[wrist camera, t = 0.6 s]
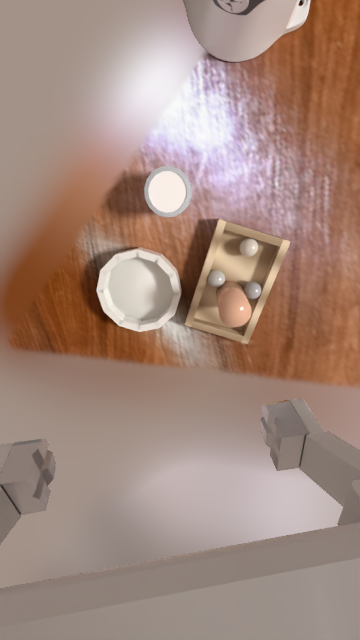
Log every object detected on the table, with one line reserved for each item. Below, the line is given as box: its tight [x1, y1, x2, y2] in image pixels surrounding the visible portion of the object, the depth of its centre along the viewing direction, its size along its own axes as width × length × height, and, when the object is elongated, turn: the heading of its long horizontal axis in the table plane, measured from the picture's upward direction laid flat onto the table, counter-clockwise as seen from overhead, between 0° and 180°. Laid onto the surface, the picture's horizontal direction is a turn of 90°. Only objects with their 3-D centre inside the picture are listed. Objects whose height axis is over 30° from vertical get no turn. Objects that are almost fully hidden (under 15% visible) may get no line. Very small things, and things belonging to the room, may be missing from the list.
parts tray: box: [185, 219, 290, 344], centre depth 53 cm, size 19×12×3 cm, turn 163°
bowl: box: [96, 247, 182, 332], centre depth 55 cm, size 14×14×3 cm
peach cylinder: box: [216, 281, 251, 327], centre depth 50 cm, size 5×5×10 cm
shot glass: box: [144, 166, 191, 217], centre depth 47 cm, size 7×7×7 cm
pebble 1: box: [208, 270, 225, 288], centre depth 52 cm, size 3×3×3 cm
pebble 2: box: [240, 238, 258, 257], centre depth 50 cm, size 3×3×3 cm
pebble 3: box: [244, 282, 262, 299], centre depth 53 cm, size 3×3×3 cm
